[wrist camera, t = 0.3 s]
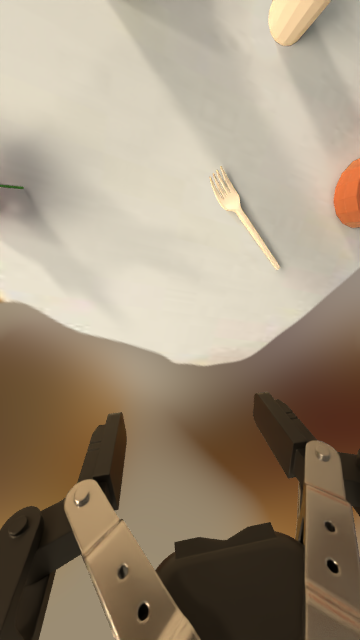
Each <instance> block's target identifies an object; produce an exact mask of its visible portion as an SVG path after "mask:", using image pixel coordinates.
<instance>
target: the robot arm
mask: <svg viewBox="0 0 360 640" xmlns="http://www.w3.org/2000/svg"><path fill="white" fill-rule="evenodd" d="M253 416H254V420H255V423H256V425H257V427H258V428H259V430H260V432H261V433H262V435H263V437H264V438H265V440H266V442H267V443H268V445H269V447H270V449H271V450H272V452H273V454H274V455H275V457H276V458H277V460H278V462H279V464H280V465H281V467H282V469H283V470H284V472H285V474H286V475H287V477H288V478H293V477H296V478H297V479H298V481H299V490H298V513H297V528H296V537H295V539H294V538H292V537H290V536H288V535H285V534H283V533H279V532H275V531H274V530H273V527H272V525H271V523H270V522H269V523H264V524H259V525H254V526H250V527H247V528H245V529H243V530H242V531H240V532H239V533H237V534H236V535H234V536H232V537H231V538H229V539H228V540H217V539H209V538H201V537H197V538H192V539H188V540H183V541H178V542H175V552H174V553H172V554H171V555H169V556H168V557H167V558H166V559H165V560H164V561H163V562H162V563H161V564H160V565H159V566H158V567H157V569H156V570H154V568H153V566H152V565H151V563H150V562H149V560H148V558H147V557H146V555H145V553H144V552H143V550H142V549H141V547H140V545H139V544H138V542H137V541H136V539H135V538H134V536H133V534H132V533H131V531H130V529H129V528H128V526H127V525H126V523H125V522H124V520H123V519H121V520H120V519H119V517H118V516H117V514H116V513H115V511H114V510H118V508H119V499H120V492H121V484H122V476H123V468H124V459H125V451H126V442H127V437H126V429H125V424H124V419H123V414H122V412H121V413H113V414H109V415H108V417H107V420H106V424H105V425H99V426H98V427H97V429H96V430H95V431H94V433H93V434H92V437H91V441H90V444H89V447H88V452H87V454H86V457H85V460H84V463H83V466H82V470H81V473H80V476H79V479H78V482H77V484H76V485H75V486H74V487H73V488H72V489H71V490H70V491H69V492H68V494H67V496H66V498H64V499H63V500H62V501H60V502H58V503H56V504H54V505H52V506H50V507H48V508H46V509H44V510H42V511H40V510H39V509H38V508H37V507H34V506H30V507H26V508H23V509H21V510H19V511H18V512H16V513H15V514H14V515H13V516H12V517H10V518H9V519H8V520H7V521H6V523H5V524H4V525H3V527H2V528H1V530H0V640H39V636H40V632H41V628H42V624H43V620H44V616H45V612H46V608H47V604H48V600H49V596H50V592H51V588H52V584H53V580H54V576H55V572H56V569H58V568H60V567H61V566H63V565H64V564H66V563H68V562H69V561H71V560H73V559H74V558H76V557H77V556H79V555H81V556H82V558H83V561H84V563H85V565H86V568H87V570H88V573H89V575H90V578H91V580H92V583H93V585H94V588H95V590H96V592H97V595H98V597H99V600H100V603H101V605H102V608H103V610H104V613H105V616H106V618H107V620H108V623H109V626H110V628H111V630H112V633H113V635H114V638H115V640H360V557H359V551H358V544H357V537H356V531H355V524H354V518H353V511H352V506H353V507H354V509H355V510H356V512H357V513H358V514H359V516H360V449H359V451H358V454H357V455H354V454H347V453H340V452H337V451H336V450H335V449H334V448H332V447H331V446H330V445H328V444H326V443H324V442H321V441H317V439H316V438H315V437H314V436H313V435H312V434H311V433H310V431H309V430H308V429H307V428H306V427H305V426H304V424H303V423H302V422H301V421H300V420H299V419H298V418H297V416H296V415H295V414H294V413H293V412H292V410H291V409H290V408H289V407H288V406H287V405H286V404H285V403H283V402H281V401H280V400H278V399H277V400H274V398H273V397H272V396H271V395H270V394H269V393H268V392H263V393H256V394H255V395H254V409H253Z"/></svg>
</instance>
